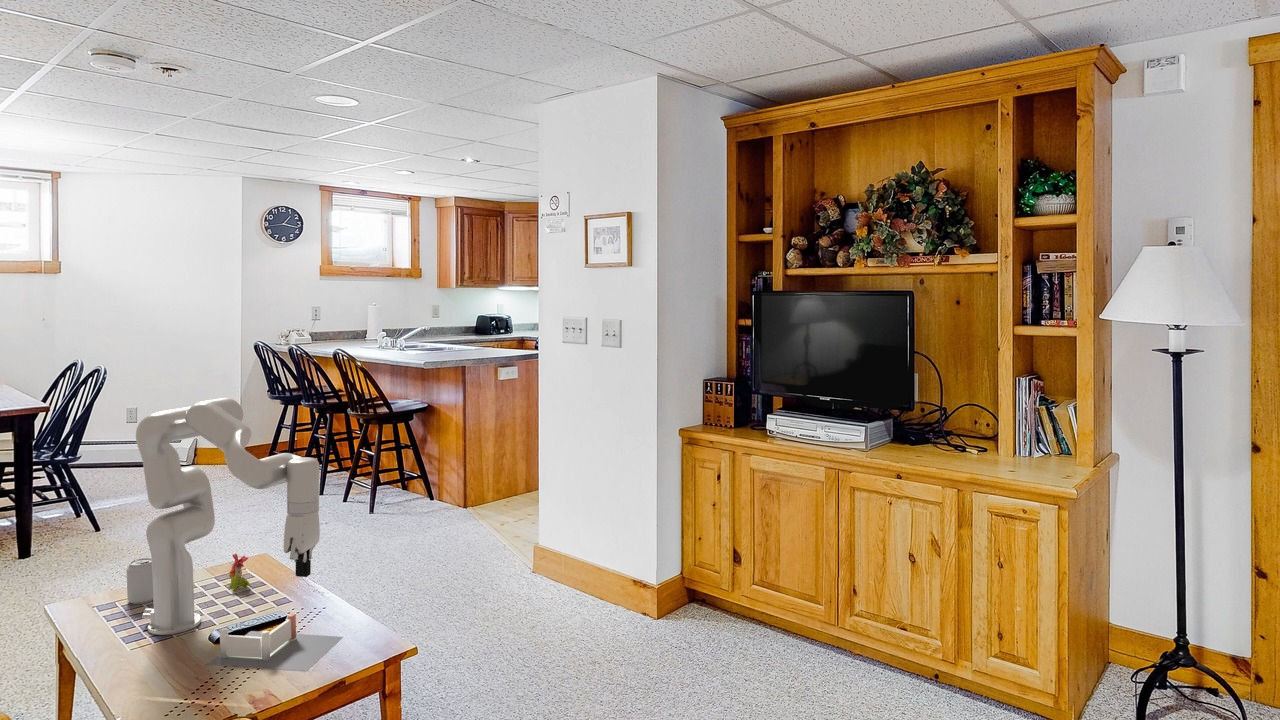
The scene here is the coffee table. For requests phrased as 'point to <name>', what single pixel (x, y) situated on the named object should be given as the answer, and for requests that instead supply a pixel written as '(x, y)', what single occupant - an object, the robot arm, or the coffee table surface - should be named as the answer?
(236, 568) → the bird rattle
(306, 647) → the card
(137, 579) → the can
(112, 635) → the coffee table surface
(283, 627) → the fence swing section
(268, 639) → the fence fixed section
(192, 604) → the robot arm
